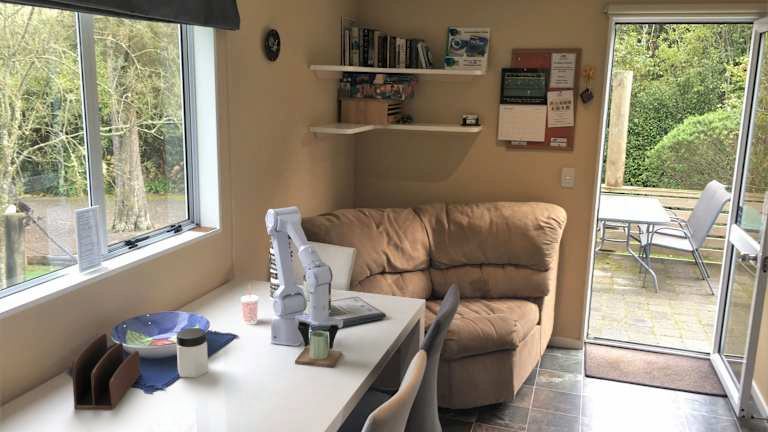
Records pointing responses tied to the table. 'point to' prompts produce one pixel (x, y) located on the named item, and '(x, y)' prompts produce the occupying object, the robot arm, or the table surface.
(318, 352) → the green segmented tube
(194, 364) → the jar
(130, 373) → the letter holder
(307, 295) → the coffee can
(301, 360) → the spool holder
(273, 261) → the decorative candle
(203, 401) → the table surface
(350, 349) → the table surface
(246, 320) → the beverage cup
